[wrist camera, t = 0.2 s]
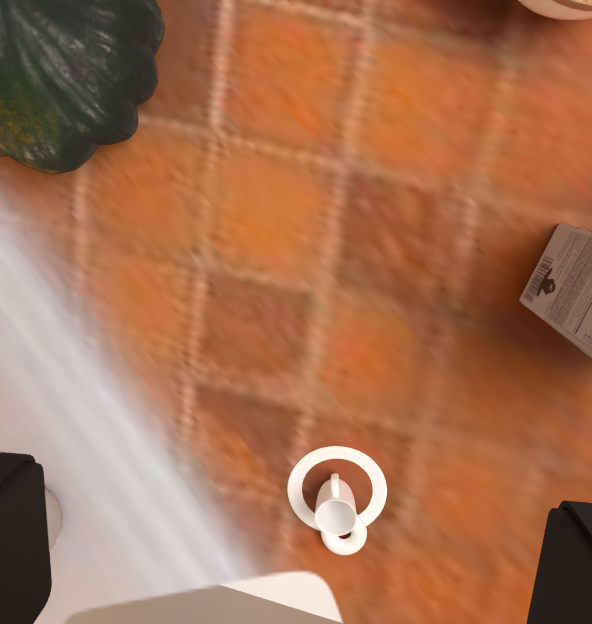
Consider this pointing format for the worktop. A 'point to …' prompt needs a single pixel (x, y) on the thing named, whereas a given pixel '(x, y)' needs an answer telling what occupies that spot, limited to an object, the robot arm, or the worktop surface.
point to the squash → (73, 76)
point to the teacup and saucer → (322, 532)
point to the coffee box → (564, 286)
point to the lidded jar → (561, 8)
